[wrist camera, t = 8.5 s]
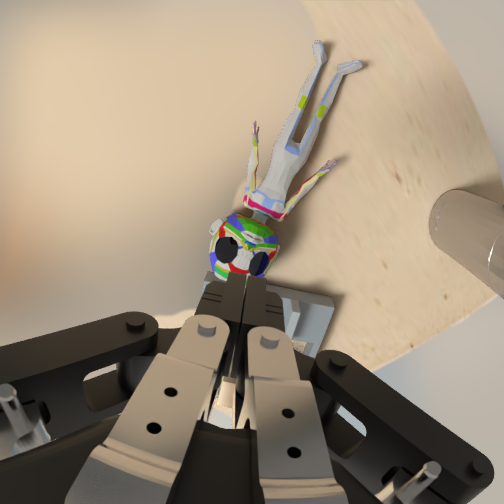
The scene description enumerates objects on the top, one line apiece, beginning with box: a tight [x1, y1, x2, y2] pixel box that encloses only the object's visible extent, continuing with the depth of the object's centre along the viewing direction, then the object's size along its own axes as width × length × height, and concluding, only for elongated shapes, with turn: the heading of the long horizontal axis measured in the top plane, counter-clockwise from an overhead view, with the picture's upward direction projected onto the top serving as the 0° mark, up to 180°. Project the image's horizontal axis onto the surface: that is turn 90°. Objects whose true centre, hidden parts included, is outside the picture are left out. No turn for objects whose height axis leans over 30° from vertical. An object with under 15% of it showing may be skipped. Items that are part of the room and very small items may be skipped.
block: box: [217, 359, 236, 408], centre depth 41 cm, size 5×5×5 cm
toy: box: [209, 40, 363, 288], centre depth 34 cm, size 10×8×30 cm
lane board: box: [201, 272, 335, 398], centre depth 42 cm, size 17×18×6 cm
